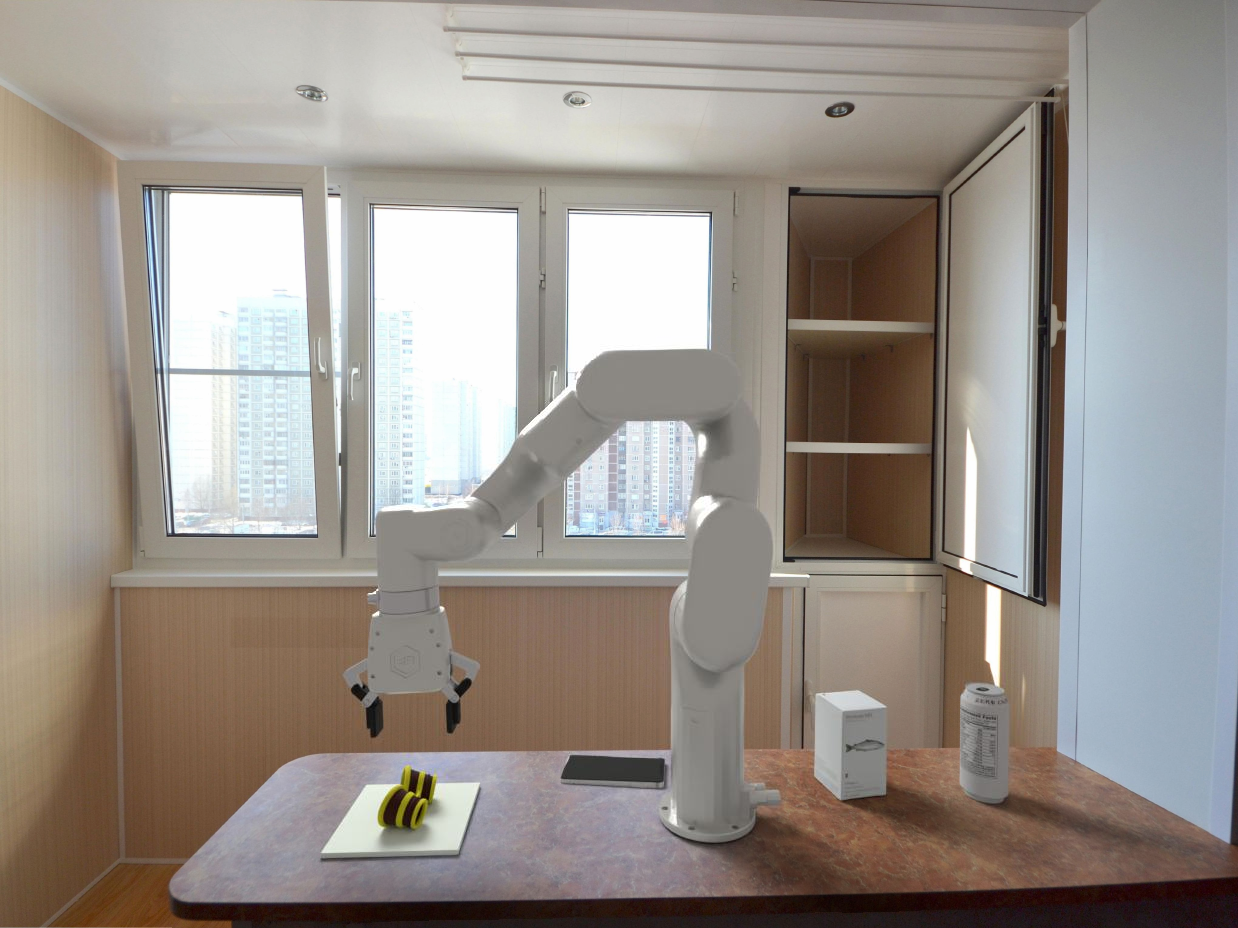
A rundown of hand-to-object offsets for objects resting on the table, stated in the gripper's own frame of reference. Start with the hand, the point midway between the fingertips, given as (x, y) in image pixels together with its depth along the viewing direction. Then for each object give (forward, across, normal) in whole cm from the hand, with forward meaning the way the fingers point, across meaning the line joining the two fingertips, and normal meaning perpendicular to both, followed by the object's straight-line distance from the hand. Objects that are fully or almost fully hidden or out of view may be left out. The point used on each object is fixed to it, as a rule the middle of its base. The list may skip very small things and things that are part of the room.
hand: (414, 731), depth 86 cm
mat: (+11, -1, 0) cm, 11 cm away
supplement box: (+14, +60, +6) cm, 62 cm away
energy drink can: (+15, +78, +3) cm, 79 cm away
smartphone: (+13, +26, +12) cm, 31 cm away
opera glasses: (+11, -1, 0) cm, 11 cm away
